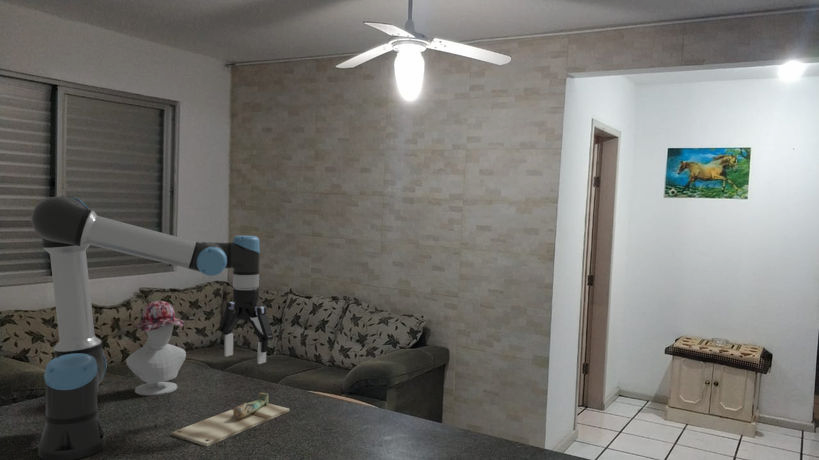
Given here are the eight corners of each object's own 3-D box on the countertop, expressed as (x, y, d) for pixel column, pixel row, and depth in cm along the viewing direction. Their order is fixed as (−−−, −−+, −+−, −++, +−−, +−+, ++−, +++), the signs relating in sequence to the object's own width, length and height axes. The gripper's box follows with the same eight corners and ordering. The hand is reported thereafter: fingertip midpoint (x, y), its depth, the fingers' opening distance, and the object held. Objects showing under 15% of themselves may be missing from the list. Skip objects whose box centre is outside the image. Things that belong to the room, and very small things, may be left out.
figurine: (275, 406, 195) (275, 393, 195) (241, 421, 181) (241, 408, 181) (261, 403, 197) (261, 391, 197) (227, 418, 184) (226, 405, 183)
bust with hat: (139, 403, 197) (138, 308, 196) (120, 389, 211) (119, 300, 209) (198, 391, 210) (198, 302, 208) (176, 379, 223) (176, 294, 222)
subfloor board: (207, 446, 166) (207, 443, 166) (171, 435, 173) (171, 431, 173) (289, 411, 193) (289, 408, 193) (256, 402, 200) (256, 400, 200)
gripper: (286, 291, 183) (285, 363, 185) (225, 282, 196) (225, 350, 198) (268, 294, 177) (266, 368, 178) (206, 285, 190) (206, 355, 191)
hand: (244, 359), depth 188 cm, fingers open, 13 cm apart
